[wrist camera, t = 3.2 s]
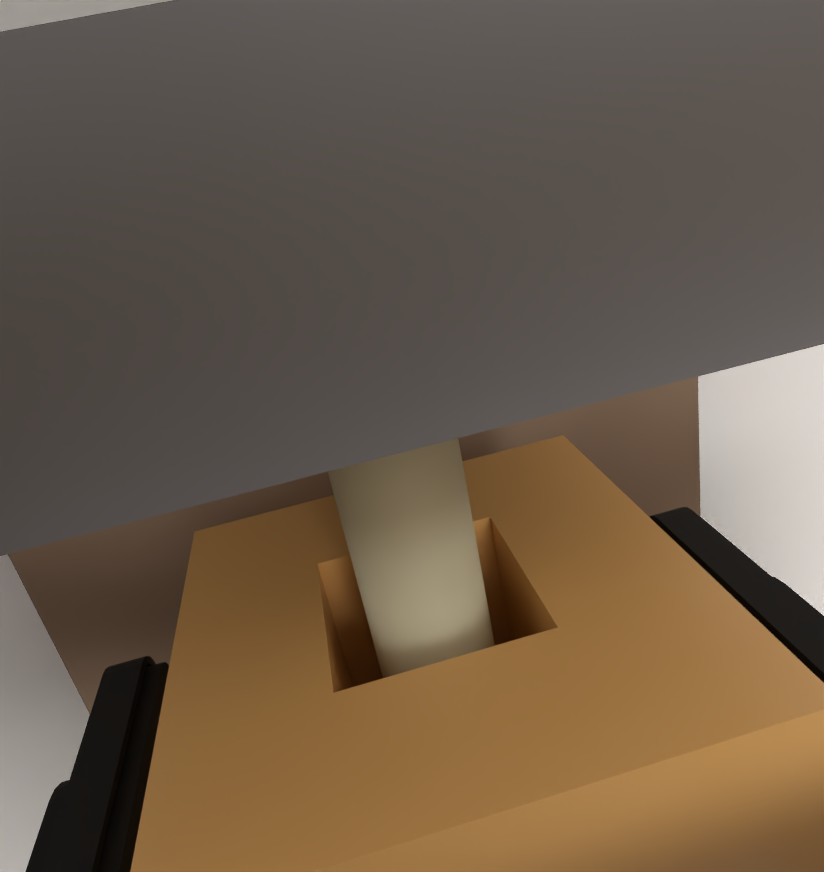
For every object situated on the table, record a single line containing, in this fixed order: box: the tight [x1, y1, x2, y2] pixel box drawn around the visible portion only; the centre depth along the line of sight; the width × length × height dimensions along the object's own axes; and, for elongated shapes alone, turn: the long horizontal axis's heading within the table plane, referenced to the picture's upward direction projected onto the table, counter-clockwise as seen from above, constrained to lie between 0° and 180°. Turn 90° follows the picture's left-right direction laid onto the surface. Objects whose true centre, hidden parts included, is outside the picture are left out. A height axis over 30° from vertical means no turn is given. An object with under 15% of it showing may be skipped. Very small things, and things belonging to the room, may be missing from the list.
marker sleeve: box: [130, 435, 824, 872], centre depth 8 cm, size 6×5×5 cm
